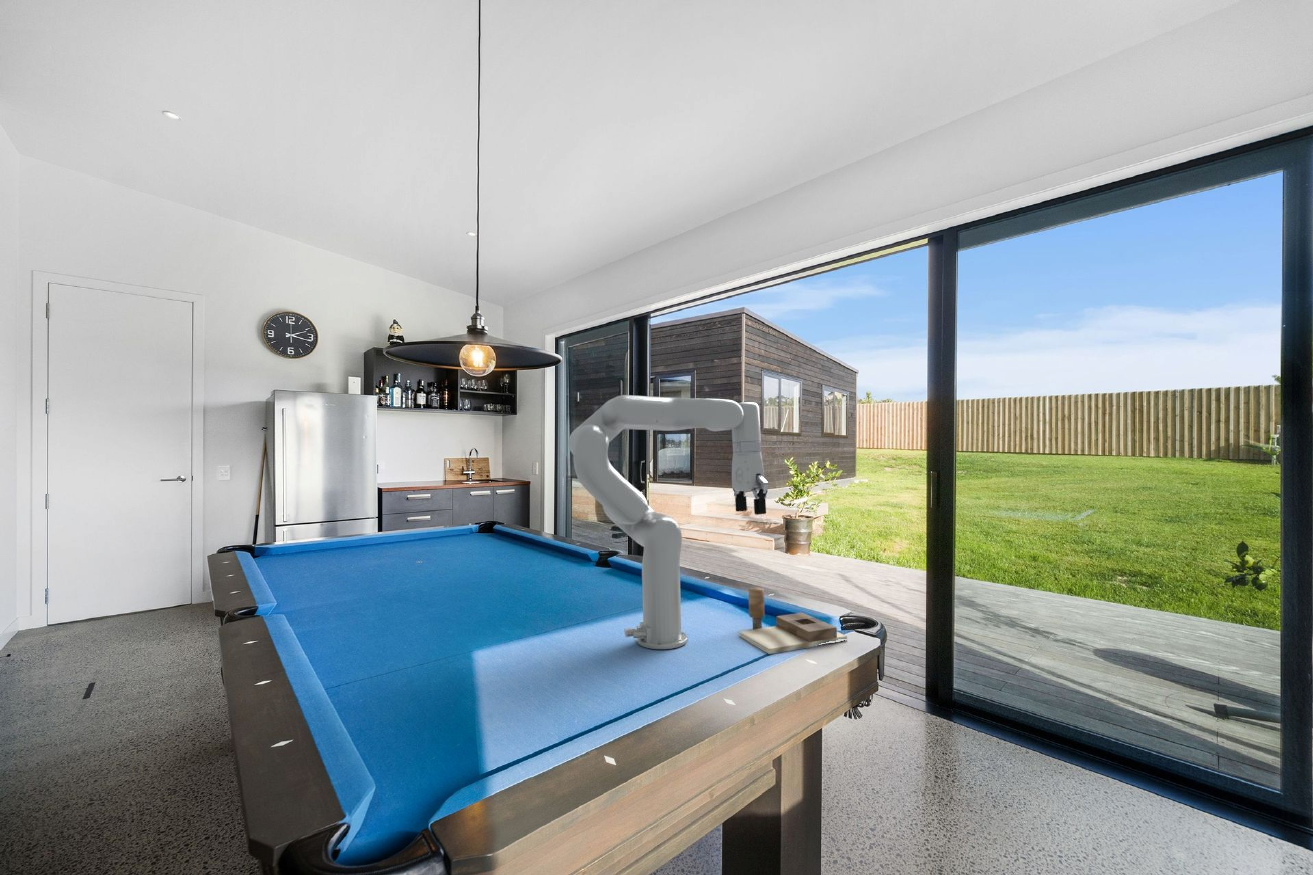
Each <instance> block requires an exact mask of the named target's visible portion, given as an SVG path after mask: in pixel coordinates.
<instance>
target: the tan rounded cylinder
mask: <svg viewBox="0 0 1313 875" xmlns="http://www.w3.org/2000/svg"><path fill="white" fill-rule="evenodd" d="M765 616H766V614H765V589H764V588H762V587H758V586H757V587H755V586H754V587H750V588H748V617H750V618H752V630H753V629H760V628H763V623H762V621H763V619H762V618H765Z"/></svg>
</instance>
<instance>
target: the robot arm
mask: <svg viewBox="0 0 1313 875" xmlns="http://www.w3.org/2000/svg"><path fill="white" fill-rule="evenodd" d="M760 420H761V417H760V407H759V405H758V403H757V402H753V401H744V402H736V401H735V400H732V399H722V398H708V397H707V398H701V397H696V398H695V397H694V398H693V397H692V398H690V397H689V398H688V397H671V396H670V397H668V396H667V397H666V396H664V397H663V396H649V395H647V396H646V395H635V394H634V395H630V394H622V395H617V396H615V397H613V398H610V399H609V400H607V401H606V402H605V403H603V405H602V406H600V407H599V409H597V410H596V411H595V412H594V413H593V414H592V415H590V416H589V417H587V419H586V420H584V421H583V422H582V423H581V424H580V425H578V426H577V427H576V428H574V430H573V431H572V432H571V434H570V435H569V438H568V441H567V444H568V449H569V451H570V453H571V454H572V455H573V467H574V471H575V474H576V477H577V480H578V481H579V483H580V485H582V487H583V488H584V489H585V490H586V491H587V492H588V494H590V495H591V496H592V497H593V498H594V499H595V500H596V501H597V502H598V503H599V504H600V505H601V506H602V509H603V512H604V514H605V516H606V517H608V518H609V520H611V522H613V523H614V525H616V526H617V527H618V528H619V529H620V530H621V531H623V532H624V533H626V535H628V536H629V537H630V538H631V539H632V540H633V541H635V543H637V544H638V545H640V546H641V547H643V553H642V554H643V555H642V562H641V580H642V582H641V583H642V622H639V625H637V626H636V628H635V627H633V628H632V627H631V628H625V629H624V636H625V638H629V637H632V638H633V639H637V641H636V642H637V643H638V645H639V646H641V647H643V648H646V649H650V650H671V649H675V648H680V647H682V646H684V645H686V644H687V642H688V640H689V639H688V638H689V637H688V634H686V633H685V632H683V631H682V615H681V614H682V609H681V608H682V605H681V604H682V603H681V598H682V597H681V576H680V575H681V569H680V568H681V567H680V566H681V565H680V563H681V549H682V541H683V538H682V537H683V535H682V530H681V527H680V525H679V523H678V522H677V520H675V519H674V518H673V517H671V516H669V515H666V514H664V513H659V512H657V511H655V510H654V509H653V508H652V507H650V506H649V503H648V500H647V498H646V497H645V495H644V494H643V493H642V492H641V491H640V490H639V489H638V488H636V487H635V486H634V485H633V484H631V482H629V480H627V479H626V478H625V477H624V476H623V475H621V474H620V472H619V471H617V469H615V468H614V466H613V465H612V464H611V462H610V459H609V454H608V451H609V444H610V442H612V441H613V439H615V438H616V437H617V436H618V435H619V434H620V433H621V432H622V431H623V430H639V431H641V430H642V431H643V430H644V431H647V430H648V431H664V432H665V431H666V432H667V431H668V432H669V431H671V432H672V431H673V432H674V431H682V430H688V429H689V430H690V429H691V430H692V429H706V430H708V431H711V432H722V431H730V430H731V439H732V452H733V453H732V459H731V460H732V461H731V481H730V482H731V487H732V491H733V496H734V502H735V503H734V504H735V505H734V506H735V512H737V513H739V512H746V511H747V510H748V506H747V505H748V504H747V496H746V493H749V492H751V493H752V494H753V496H754V499H753V511H754V512H753V514H754V515H756V516H758V515H759V516H760V515H766V514H767V507H766V506H767V503H766V499H767V494H768V489H769V481H767V479H766V478H765V470H764V461H763V457H762V453H763V452H762V441H761V440H762V438H761V437H762V436H761V421H760Z"/></svg>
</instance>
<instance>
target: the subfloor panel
mask: <svg viewBox="0 0 1313 875" xmlns="http://www.w3.org/2000/svg"><path fill="white" fill-rule="evenodd" d="M775 622H776V623H775V624H776V625H774V626H767V627H762V628H760V629H753V628H752V629H746V630H740V631H739V635H738V636H739V637H740V638H742V639H743V640H745V641H747V642H748V643H750V644H751V645H753V646H755V647H757V648H758V649H760V650H761V651H763V652H765V653H767V654H768V655H772V654H773V655H774V654H779V653H784V652H785V653H786V652H791V651H796V650H802V649H807V648H809V649H810V648H815V647H817V646H816V645H819V644H821V643H826V642H829V641H836V640H838V639H847V640H848V636H847V635H845V634H844V633H841V632H839V631H838V628H837V626H835V625H832V624H829V623H828V622H825V621H823V620H820V619H818V618H815V617H813V616H811V615H808V614H806V613H803V612H798V613H797V612H796V613H791V614H782V615H776V620H775ZM814 646H815V647H814Z"/></svg>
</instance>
